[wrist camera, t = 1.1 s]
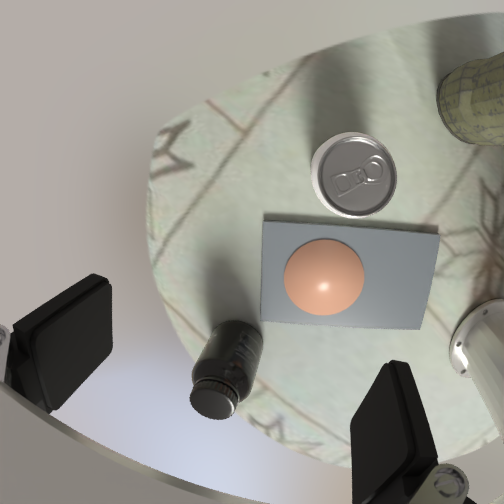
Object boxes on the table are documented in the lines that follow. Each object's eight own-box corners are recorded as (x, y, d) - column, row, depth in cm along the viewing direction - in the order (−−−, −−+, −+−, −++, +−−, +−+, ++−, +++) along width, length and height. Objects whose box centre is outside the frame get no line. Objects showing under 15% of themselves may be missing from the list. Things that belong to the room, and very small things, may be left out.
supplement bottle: (207, 319, 40) (171, 377, 28) (259, 317, 38) (237, 379, 27) (218, 362, 42) (190, 424, 30) (267, 361, 40) (251, 427, 29)
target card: (438, 233, 31) (441, 235, 30) (418, 326, 35) (420, 330, 34) (264, 220, 34) (262, 222, 33) (261, 317, 38) (260, 321, 37)
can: (380, 185, 31) (415, 203, 20) (325, 208, 33) (333, 237, 22) (355, 129, 30) (380, 116, 18) (300, 153, 32) (294, 151, 20)
